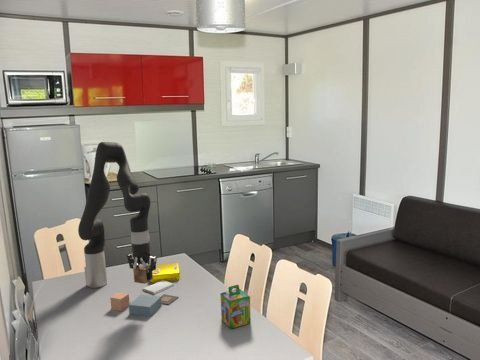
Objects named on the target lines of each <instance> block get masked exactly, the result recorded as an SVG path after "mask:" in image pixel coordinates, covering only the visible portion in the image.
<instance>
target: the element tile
mask: <svg viewBox="0 0 480 360" xmlns="http://www.w3.org/2000/svg"><path fill="white" fill-rule="evenodd" d="M180 272H181V271H180V265H179V263H178V262H171V263H160V264H156V269H155V270H153V271H152V274H153V279H152V280H150V281H149V282H150V283H153V284H155V283H158V282H160V281H162V280H164V281H167V282H172V281H179V280H180V279H181V274H180Z"/></svg>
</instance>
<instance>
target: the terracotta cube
mask: <svg viewBox="0 0 480 360" xmlns="http://www.w3.org/2000/svg"><path fill="white" fill-rule="evenodd" d="M130 303H131V302H130V295H129V293H125V292H117V293H115V294H114V295H112V296H110V309H111V310H113V311H114V310H115V311H118V312H119V311H120V312H122V311H124V310H126V309H127V308H129V304H130Z"/></svg>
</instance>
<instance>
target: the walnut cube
mask: <svg viewBox="0 0 480 360" xmlns="http://www.w3.org/2000/svg"><path fill="white" fill-rule="evenodd" d="M148 268H149V267H148ZM132 270H133V269H132ZM152 279H153V274H152V278H151V280H152ZM133 281H134V283H137V284H144V285H145V284H148V283H149V282H150V280H149V281H148V280H147V271H146V268H144V266H143V265H142V264H140V266H139V267H137V268H136V269H134V270H133Z"/></svg>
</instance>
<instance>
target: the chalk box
mask: <svg viewBox="0 0 480 360" xmlns="http://www.w3.org/2000/svg"><path fill="white" fill-rule="evenodd" d="M219 295H220V310H221V313H220V315H221V321H222V322H223V323H224V324H225V325H226V326H227V327H228V328H230V330H232V329H233V330H234V329H235V328H239V327H242V326H246V325H250V324H251V323H252V322H251V296H250V295H248V294H247V293H246V292H245V291H243V290H242V289H241V288H240V285H239V284H236V285H231V286H228V290H227V291H223V292H221V293H220V294H219Z"/></svg>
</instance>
